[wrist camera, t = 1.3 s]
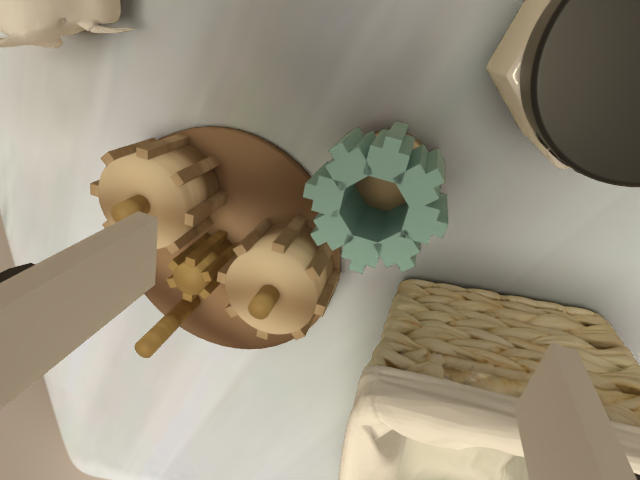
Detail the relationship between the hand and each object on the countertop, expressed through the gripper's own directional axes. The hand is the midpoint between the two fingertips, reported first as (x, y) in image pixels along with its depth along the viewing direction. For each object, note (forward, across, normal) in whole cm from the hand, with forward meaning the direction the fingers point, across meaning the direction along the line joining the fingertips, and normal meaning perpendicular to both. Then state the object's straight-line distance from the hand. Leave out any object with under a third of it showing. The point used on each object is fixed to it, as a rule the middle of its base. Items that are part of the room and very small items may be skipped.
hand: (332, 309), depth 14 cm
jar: (+18, +8, +9) cm, 21 cm away
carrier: (+17, -11, -9) cm, 23 cm away
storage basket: (+18, +11, -17) cm, 27 cm away
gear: (+14, 0, 0) cm, 14 cm away
